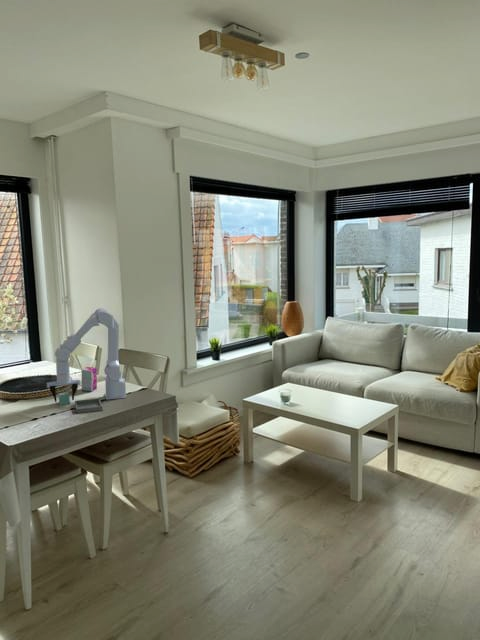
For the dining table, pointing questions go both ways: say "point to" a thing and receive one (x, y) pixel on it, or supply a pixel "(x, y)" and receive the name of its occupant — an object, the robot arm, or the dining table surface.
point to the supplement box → (89, 379)
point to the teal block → (64, 398)
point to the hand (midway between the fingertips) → (64, 400)
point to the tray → (88, 405)
